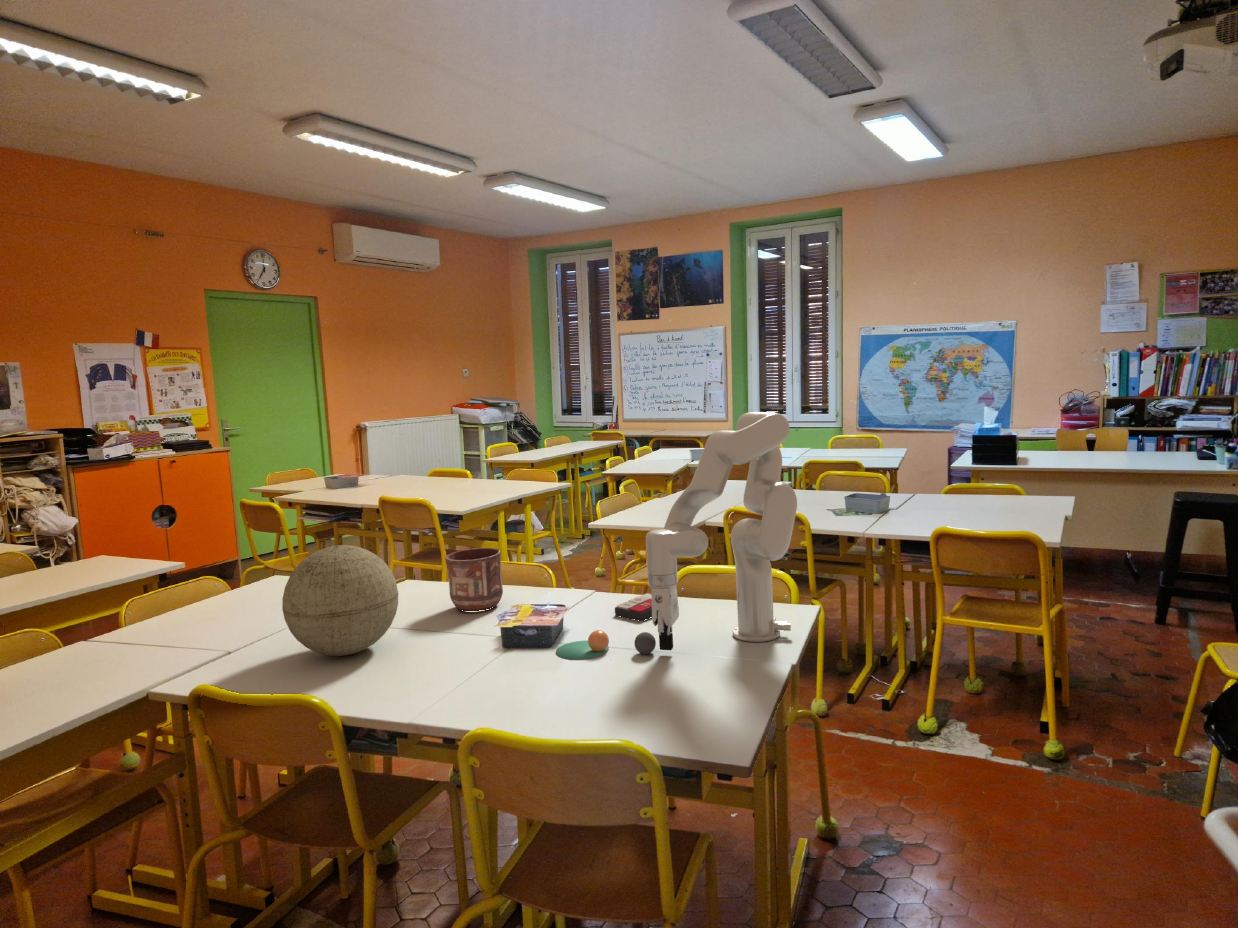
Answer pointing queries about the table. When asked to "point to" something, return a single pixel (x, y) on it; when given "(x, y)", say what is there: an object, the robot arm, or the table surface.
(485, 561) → the pottery
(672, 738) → the table surface
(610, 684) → the table surface
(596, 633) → the ball
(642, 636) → the ball
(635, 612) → the calculator
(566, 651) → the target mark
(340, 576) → the celestial globe
